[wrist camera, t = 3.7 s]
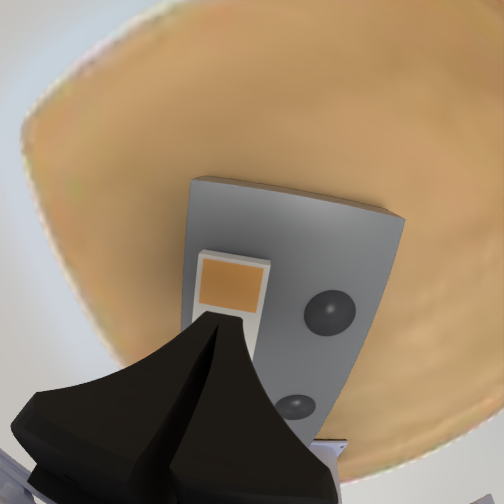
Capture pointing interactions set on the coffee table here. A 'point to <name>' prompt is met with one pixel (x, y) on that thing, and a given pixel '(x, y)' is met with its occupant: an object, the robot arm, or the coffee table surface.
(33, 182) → the coffee table surface
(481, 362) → the coffee table surface
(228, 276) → the rocker
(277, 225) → the grey switch panel
